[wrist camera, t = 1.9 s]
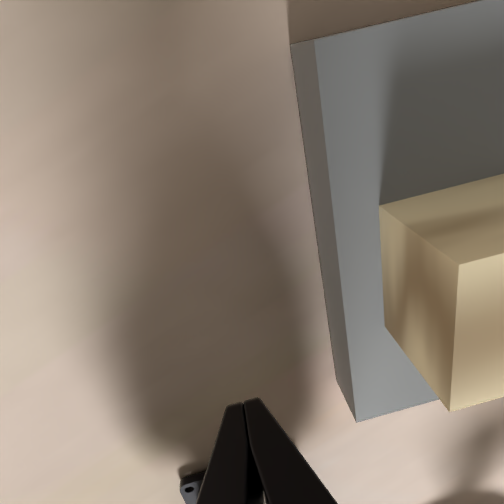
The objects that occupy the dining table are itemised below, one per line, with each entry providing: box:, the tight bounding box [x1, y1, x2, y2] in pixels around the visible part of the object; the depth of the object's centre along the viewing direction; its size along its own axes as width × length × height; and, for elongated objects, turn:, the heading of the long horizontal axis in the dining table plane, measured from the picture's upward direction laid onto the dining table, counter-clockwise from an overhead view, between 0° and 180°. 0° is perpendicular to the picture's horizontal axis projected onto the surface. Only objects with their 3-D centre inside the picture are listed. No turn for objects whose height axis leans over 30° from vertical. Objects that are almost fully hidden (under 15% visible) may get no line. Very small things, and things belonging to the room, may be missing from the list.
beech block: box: [379, 174, 504, 412], centre depth 12 cm, size 5×5×4 cm
